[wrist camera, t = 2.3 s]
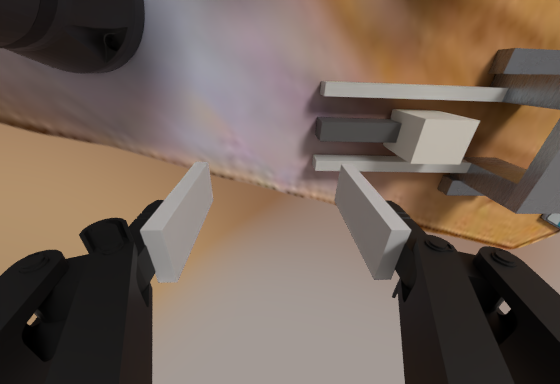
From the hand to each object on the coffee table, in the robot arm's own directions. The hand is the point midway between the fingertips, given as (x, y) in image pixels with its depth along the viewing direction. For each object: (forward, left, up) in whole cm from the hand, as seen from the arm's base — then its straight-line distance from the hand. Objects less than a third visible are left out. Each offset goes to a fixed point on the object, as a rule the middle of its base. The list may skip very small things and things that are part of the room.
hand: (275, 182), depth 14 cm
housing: (+31, 0, -17) cm, 36 cm away
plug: (+14, 0, -17) cm, 22 cm away
